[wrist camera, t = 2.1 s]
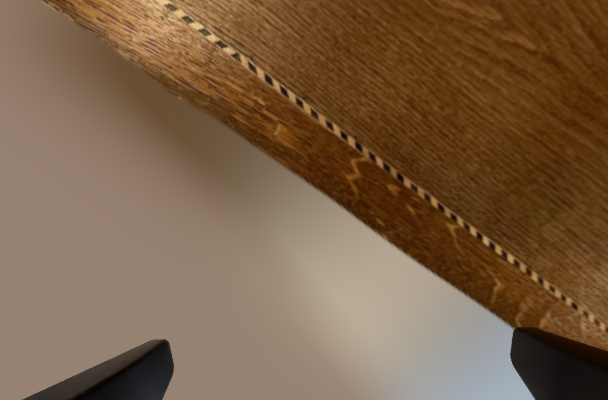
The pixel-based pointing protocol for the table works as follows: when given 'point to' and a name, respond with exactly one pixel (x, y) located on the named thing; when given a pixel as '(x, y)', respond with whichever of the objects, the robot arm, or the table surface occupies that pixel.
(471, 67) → the table surface
